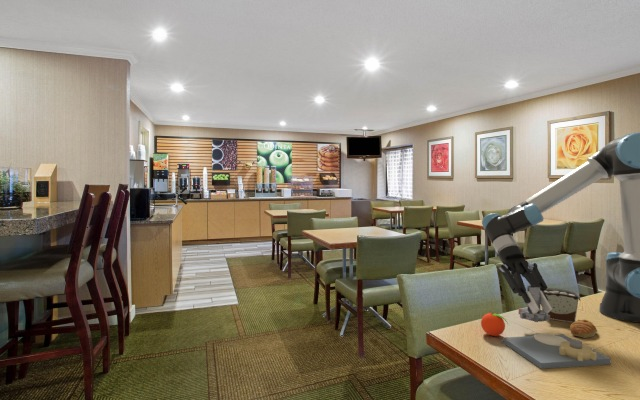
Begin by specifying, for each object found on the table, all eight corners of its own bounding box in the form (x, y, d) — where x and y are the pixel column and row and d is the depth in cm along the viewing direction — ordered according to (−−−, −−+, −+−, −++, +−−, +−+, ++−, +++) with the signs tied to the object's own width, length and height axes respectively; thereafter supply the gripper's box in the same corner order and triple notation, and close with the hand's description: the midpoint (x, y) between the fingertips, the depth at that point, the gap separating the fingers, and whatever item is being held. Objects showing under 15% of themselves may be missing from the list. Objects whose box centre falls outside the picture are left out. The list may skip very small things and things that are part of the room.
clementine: (511, 335, 113) (511, 313, 113) (504, 342, 108) (505, 319, 108) (485, 329, 119) (485, 307, 119) (477, 335, 114) (477, 313, 113)
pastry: (591, 341, 109) (591, 329, 109) (565, 335, 114) (565, 323, 114) (597, 333, 115) (597, 321, 115) (572, 327, 120) (572, 316, 120)
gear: (537, 312, 121) (537, 283, 120) (556, 321, 112) (556, 289, 112) (512, 314, 120) (512, 284, 119) (530, 323, 111) (529, 291, 111)
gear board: (560, 337, 111) (561, 322, 111) (612, 365, 94) (613, 346, 94) (501, 341, 109) (501, 325, 109) (543, 370, 92) (543, 350, 92)
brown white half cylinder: (578, 318, 128) (579, 290, 128) (580, 323, 123) (580, 295, 123) (538, 312, 135) (539, 285, 135) (538, 316, 130) (538, 289, 129)
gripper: (524, 255, 132) (560, 315, 116) (482, 257, 130) (512, 318, 114) (534, 243, 126) (573, 304, 110) (490, 245, 124) (523, 307, 108)
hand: (542, 311), depth 112 cm, fingers closed on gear, 4 cm apart
